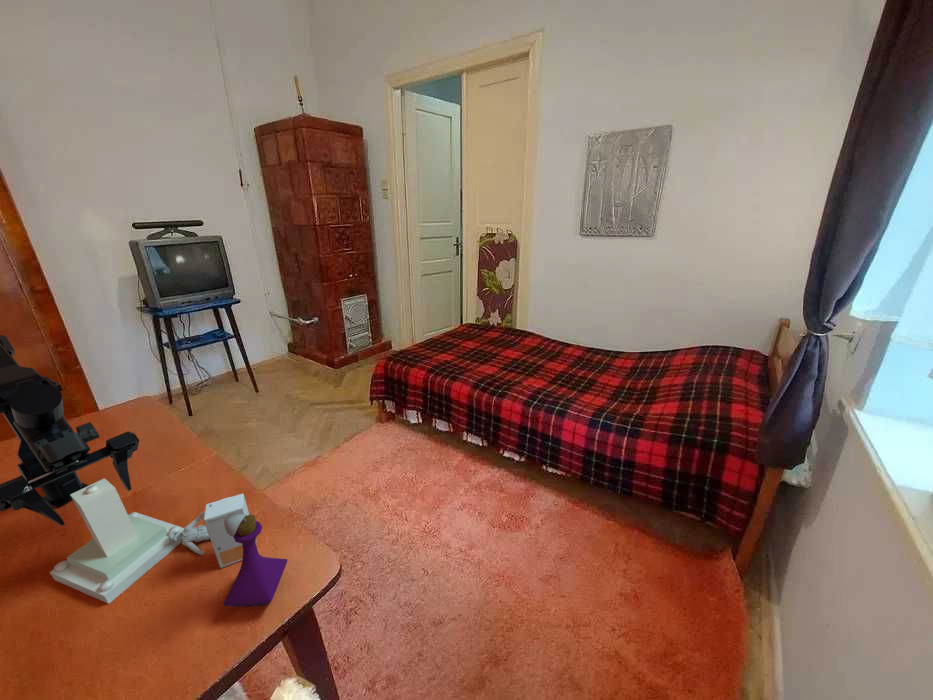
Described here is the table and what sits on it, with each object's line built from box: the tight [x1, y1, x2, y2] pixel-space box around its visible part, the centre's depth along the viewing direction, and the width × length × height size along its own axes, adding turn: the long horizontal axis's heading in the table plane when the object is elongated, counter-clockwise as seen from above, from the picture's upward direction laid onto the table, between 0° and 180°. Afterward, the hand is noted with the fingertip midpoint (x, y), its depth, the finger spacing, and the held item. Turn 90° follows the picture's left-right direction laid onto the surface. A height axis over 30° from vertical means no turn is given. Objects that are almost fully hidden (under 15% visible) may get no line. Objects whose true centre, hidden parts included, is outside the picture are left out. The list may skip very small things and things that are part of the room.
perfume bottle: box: [222, 513, 288, 608], centre depth 61 cm, size 8×8×18 cm
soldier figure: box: [169, 510, 210, 556], centre depth 73 cm, size 8×5×12 cm
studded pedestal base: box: [49, 511, 185, 605], centre depth 70 cm, size 14×14×4 cm
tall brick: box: [70, 478, 139, 557], centre depth 67 cm, size 5×5×13 cm
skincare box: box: [203, 493, 250, 569], centre depth 69 cm, size 6×4×12 cm
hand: (98, 506), depth 67 cm, fingers open, 9 cm apart
